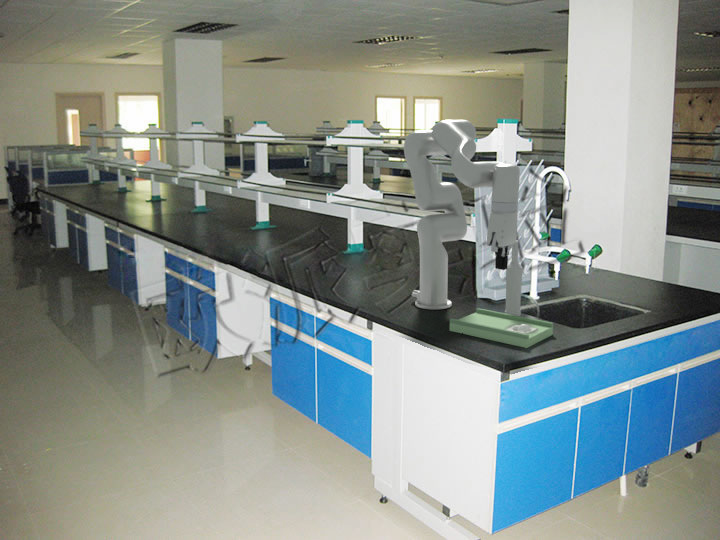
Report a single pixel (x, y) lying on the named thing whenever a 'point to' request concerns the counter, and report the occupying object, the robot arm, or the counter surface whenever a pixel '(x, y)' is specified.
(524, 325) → the ball
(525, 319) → the putting mat
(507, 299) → the bottle
